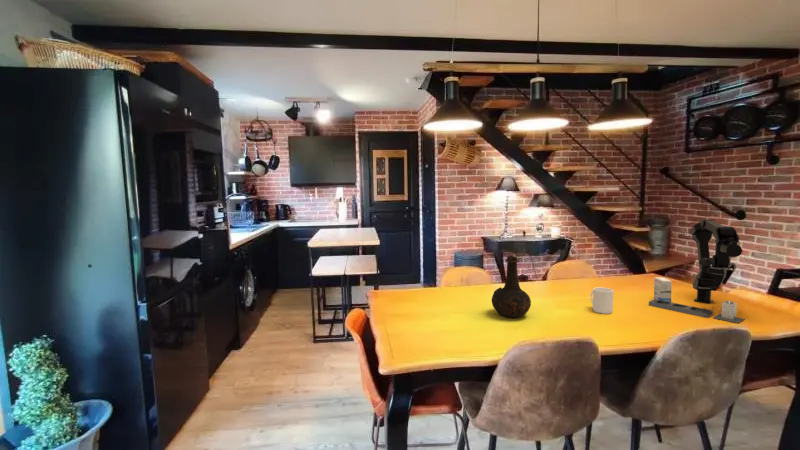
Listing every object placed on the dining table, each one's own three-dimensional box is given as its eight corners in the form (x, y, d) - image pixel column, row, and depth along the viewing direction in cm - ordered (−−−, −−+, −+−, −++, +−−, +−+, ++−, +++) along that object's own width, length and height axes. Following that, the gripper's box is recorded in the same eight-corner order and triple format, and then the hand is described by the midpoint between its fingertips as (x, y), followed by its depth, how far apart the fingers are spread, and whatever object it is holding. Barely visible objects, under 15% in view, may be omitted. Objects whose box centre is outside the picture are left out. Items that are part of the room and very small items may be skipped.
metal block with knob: (724, 315, 174) (725, 299, 173) (736, 318, 170) (737, 301, 170) (721, 317, 171) (722, 301, 171) (733, 320, 168) (734, 303, 167)
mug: (597, 305, 192) (598, 285, 191) (617, 313, 181) (617, 291, 180) (583, 307, 190) (583, 286, 189) (601, 315, 179) (602, 292, 178)
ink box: (671, 303, 194) (672, 281, 193) (660, 303, 195) (661, 280, 194) (663, 299, 203) (664, 277, 202) (653, 298, 204) (654, 276, 203)
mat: (719, 314, 177) (719, 313, 177) (744, 319, 170) (744, 318, 170) (712, 318, 172) (712, 317, 172) (738, 323, 165) (738, 322, 165)
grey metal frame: (654, 302, 196) (654, 299, 196) (712, 314, 177) (713, 310, 176) (648, 305, 192) (648, 301, 192) (707, 317, 173) (708, 313, 172)
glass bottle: (503, 306, 193) (504, 251, 191) (537, 314, 180) (538, 255, 178) (484, 315, 181) (484, 256, 178) (518, 324, 168) (519, 261, 165)
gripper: (708, 248, 191) (706, 279, 192) (694, 253, 180) (692, 285, 181) (737, 251, 182) (735, 284, 183) (724, 256, 171) (722, 290, 172)
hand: (720, 285), depth 180 cm, fingers open, 9 cm apart
